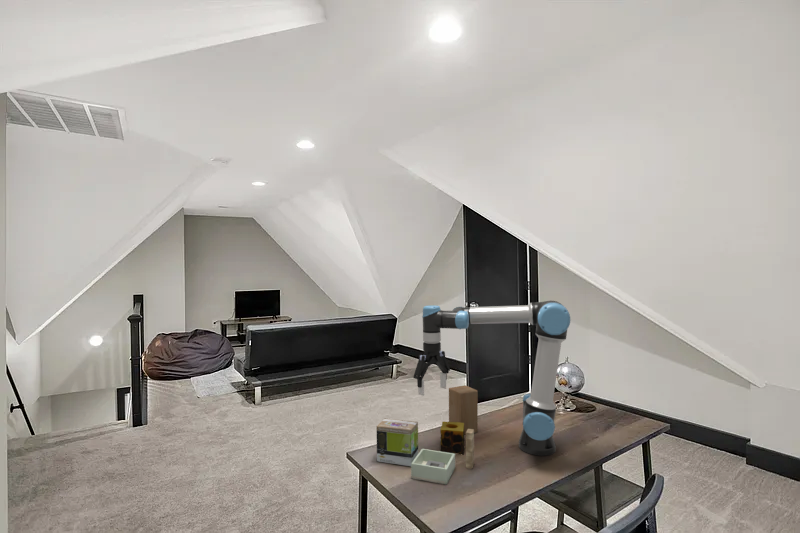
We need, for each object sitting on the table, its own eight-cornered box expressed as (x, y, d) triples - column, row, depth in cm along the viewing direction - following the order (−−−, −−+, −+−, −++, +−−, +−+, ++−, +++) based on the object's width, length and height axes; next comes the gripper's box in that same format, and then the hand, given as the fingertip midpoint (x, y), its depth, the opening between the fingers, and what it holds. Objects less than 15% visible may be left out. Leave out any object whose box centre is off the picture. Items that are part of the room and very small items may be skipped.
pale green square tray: (455, 467, 169) (455, 453, 169) (446, 484, 156) (446, 469, 156) (422, 462, 174) (422, 448, 174) (411, 478, 161) (411, 463, 161)
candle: (464, 455, 180) (464, 431, 180) (439, 453, 182) (439, 429, 182) (465, 445, 190) (465, 422, 190) (442, 443, 192) (442, 420, 192)
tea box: (418, 456, 179) (418, 421, 178) (411, 467, 169) (411, 430, 169) (384, 451, 184) (384, 416, 183) (376, 462, 174) (375, 425, 174)
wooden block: (448, 429, 208) (448, 387, 207) (465, 425, 212) (465, 384, 212) (460, 436, 199) (460, 393, 198) (478, 432, 203) (477, 390, 203)
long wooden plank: (474, 464, 172) (473, 429, 171) (472, 469, 168) (472, 433, 168) (468, 463, 172) (467, 428, 172) (466, 468, 169) (465, 432, 168)
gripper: (444, 337, 195) (445, 383, 196) (404, 344, 179) (405, 395, 179) (457, 339, 190) (458, 387, 190) (417, 347, 173) (417, 399, 173)
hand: (432, 391), depth 185 cm, fingers open, 13 cm apart
